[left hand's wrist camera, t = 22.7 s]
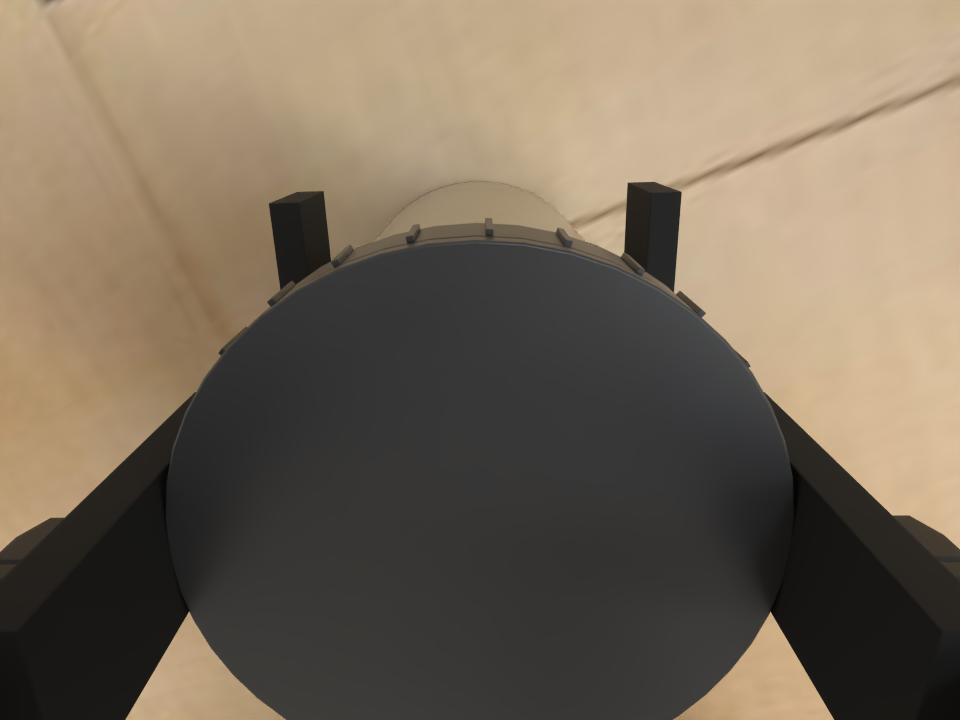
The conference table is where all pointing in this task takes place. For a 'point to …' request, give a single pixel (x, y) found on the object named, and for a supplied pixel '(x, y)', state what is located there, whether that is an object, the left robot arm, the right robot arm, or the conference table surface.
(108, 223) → the conference table surface
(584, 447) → the lid
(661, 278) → the right robot arm
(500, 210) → the jar
